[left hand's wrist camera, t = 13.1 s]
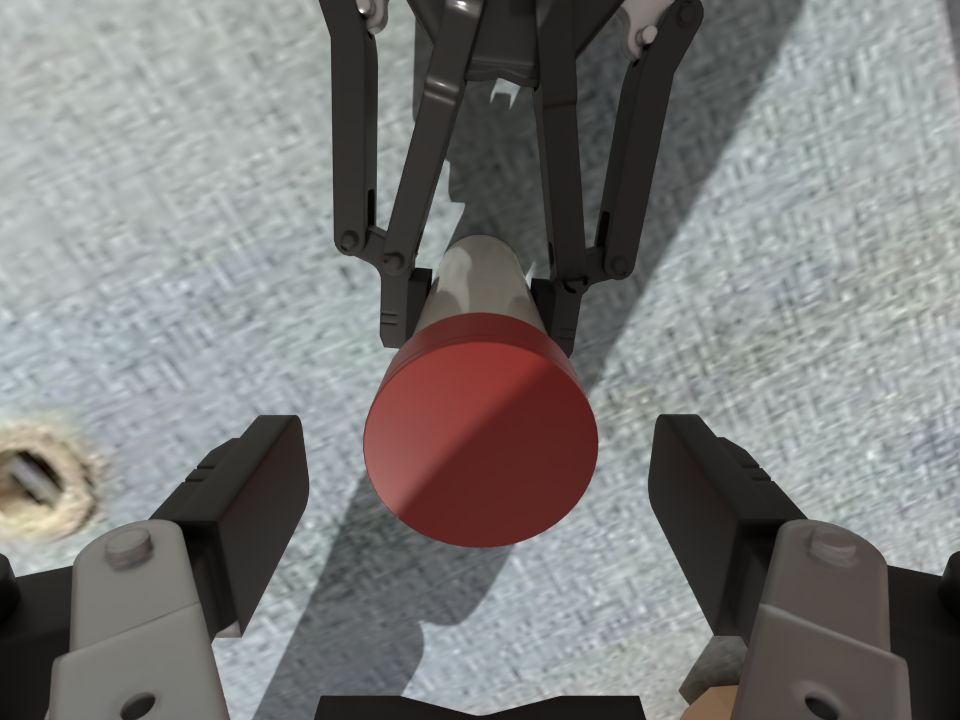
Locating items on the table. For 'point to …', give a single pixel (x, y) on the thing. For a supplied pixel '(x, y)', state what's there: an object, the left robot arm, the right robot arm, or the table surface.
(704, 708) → the squash
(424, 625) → the table surface
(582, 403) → the lid
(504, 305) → the slim white bottle
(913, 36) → the table surface
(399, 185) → the right robot arm
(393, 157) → the table surface
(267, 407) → the table surface
